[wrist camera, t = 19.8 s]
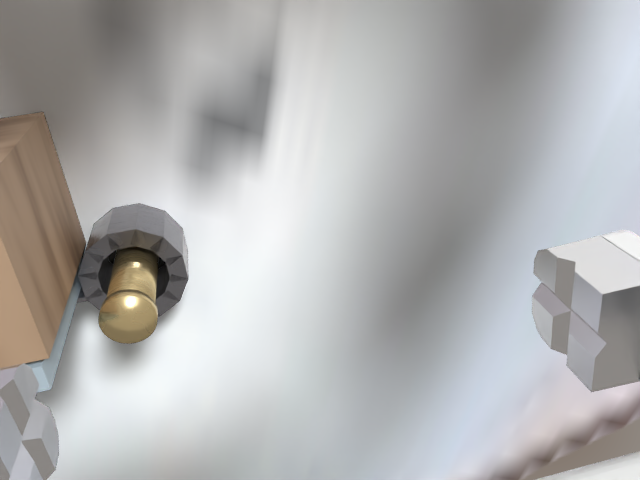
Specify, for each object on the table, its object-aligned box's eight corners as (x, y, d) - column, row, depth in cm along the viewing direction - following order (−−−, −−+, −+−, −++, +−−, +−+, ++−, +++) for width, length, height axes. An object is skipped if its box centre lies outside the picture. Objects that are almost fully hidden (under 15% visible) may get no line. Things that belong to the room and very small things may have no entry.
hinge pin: (139, 217, 44) (128, 285, 35) (171, 248, 45) (169, 320, 37) (104, 245, 44) (85, 319, 35) (138, 275, 46) (127, 353, 37)
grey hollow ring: (175, 196, 44) (174, 221, 40) (194, 278, 47) (195, 309, 43) (26, 223, 42) (10, 251, 38) (56, 305, 46) (44, 339, 42)
